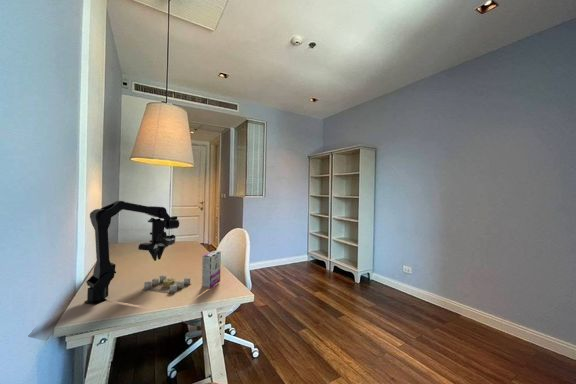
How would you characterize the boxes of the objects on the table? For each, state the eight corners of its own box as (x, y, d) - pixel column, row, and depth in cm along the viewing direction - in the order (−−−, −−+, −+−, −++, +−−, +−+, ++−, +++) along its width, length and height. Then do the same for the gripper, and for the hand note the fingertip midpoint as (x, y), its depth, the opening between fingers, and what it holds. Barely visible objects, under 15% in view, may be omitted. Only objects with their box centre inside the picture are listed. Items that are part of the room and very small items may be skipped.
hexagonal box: (170, 288, 114) (170, 282, 114) (160, 287, 116) (160, 281, 116) (177, 284, 119) (177, 278, 119) (168, 283, 120) (168, 277, 120)
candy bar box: (212, 280, 129) (212, 250, 129) (220, 281, 128) (221, 251, 128) (201, 288, 118) (202, 255, 118) (210, 289, 117) (211, 256, 117)
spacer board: (162, 302, 102) (162, 293, 102) (129, 296, 106) (129, 288, 106) (192, 285, 121) (192, 277, 121) (163, 281, 125) (163, 274, 125)
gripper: (156, 234, 112) (155, 266, 112) (183, 228, 130) (182, 257, 130) (138, 232, 115) (136, 264, 115) (166, 227, 133) (165, 255, 133)
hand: (157, 260), depth 123 cm, fingers closed
